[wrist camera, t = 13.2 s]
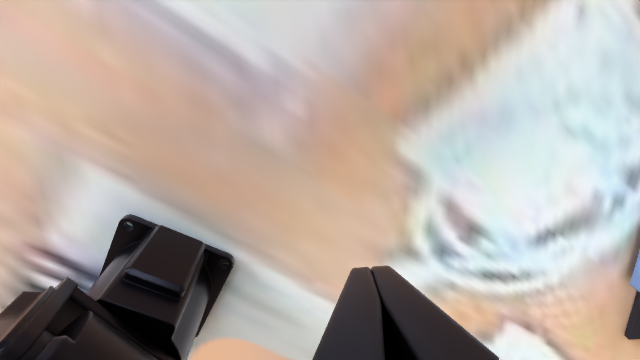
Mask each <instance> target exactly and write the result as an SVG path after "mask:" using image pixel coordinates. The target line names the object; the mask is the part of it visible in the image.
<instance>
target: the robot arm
mask: <svg viewBox="0 0 640 360" xmlns="http://www.w3.org/2000/svg"><path fill="white" fill-rule="evenodd" d="M127 222H130V223H131V224H132V225H133V227H131V226H129V225H128V224H127ZM223 260H225V261H227V262H228V264H224V263H222V261H223ZM233 264H234V258H233V256H232V255H231V254H229V253H226V252H224V251H221V250H219V249H217V248H214V247H212V246H209V245H207V244H204V243H203V242H202V241H199V240H197V239H194V238H192V237H189V236H187V235H184V234H182V233H179V232H177V231H174V230H172V229H169V228H167V227H164V226H159V225H157V224H154V223H152V222H149V221H147V220H145V219H142V218H140V217H137V216H135V215H131V214H130V215H126V216H124V217H123V218H122V219H121V220H120V222H119V224H118V227H117V229H116V232H115V235H114V238H113V240H112V243H111V246H110V249H109V251H108V254H107V257H106V260H105V262H104V265H103V268H102V271H101V273H100V276H99V278H98V279H97V281H96V282H95V283H94V284H93V286H92V287H91V288H90V289H89V290H88V292H87V293H84V292H83V291H82V290H80V289H79V288H78V287H77V286H78V284H77V283H76V282H74V281H73V280H71V279H70V278H69V277H67V278H65V279H64V280H63V281H62V282H61V283H60V284H59V285H58V286H56V287H55V288H54V287H52V286H50V287H49V288H48V289H47V290H46V291H43V292H23V293H22V294H21V295H19V296H18V297H17V298H16V299H15V300H14V301H13V302H12V303H11V304H10V305H9V306H8V307H7V308H6V309H4V310H3V311H2V312H1V313H0V360H187V358H188V355H189V352H190V350H191V347H192V344H193V341H194V338H195V337H197V336H198V334H199V332H200V330H201V328H202V326H203V324H204V322H205V320H206V318H207V317H208V315H209V313H210V311H211V309H212V307H213V305H214V303H215V301H216V299H217V297H218V295H219V293H220V291H221V289H222V287H223V285H224V283H225V281H226V279H227V277H228V275H229V273H230V271H231V269H232V267H233ZM312 360H499V358H498V356H496V355H495V354H494V353H493V352H492V351H490V350H489V349H488V348H487V347H486V346H484V345H483V344H482V343H481V342H480V341H478V340H477V339H476V338H475V337H474V336H472V335H471V334H470V333H469V332H468V331H466V330H465V329H464V328H463V327H462V326H460V325H459V324H458V323H457V322H456V321H455V320H453V319H452V318H451V317H450V316H449V315H447V314H446V313H445V312H444V311H443V310H441V309H440V308H439V307H438V306H437V305H435V304H434V303H433V302H432V301H431V300H429V299H428V298H427V297H426V296H425V295H423V294H422V293H421V292H420V291H419V290H417V289H416V288H415V287H414V286H413V285H412V284H410V283H409V282H408V281H407V280H406V279H404V278H403V277H402V276H401V275H400V274H398V273H397V272H396V271H395V270H394V269H392V268H391V267H390V266H375V267H372V268H371V269H370V268H369V267H361V268H353V269H352V270H351V272H350V274H349V276H348V279H347V281H346V283H345V285H344V288H343V290H342V292H341V295H340V297H339V299H338V302H337V304H336V306H335V309H334V311H333V313H332V316H331V318H330V320H329V322H328V325H327V327H326V329H325V332H324V334H323V336H322V339H321V341H320V343H319V346H318V348H317V350H316V353H315V355H314V357H313V359H312Z"/></svg>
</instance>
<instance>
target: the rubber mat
mask: <svg viewBox="0 0 640 360" xmlns="http://www.w3.org/2000/svg"><path fill="white" fill-rule="evenodd" d="M625 336H626V337H627V338H628V339H640V292H639V291H638V293H637V296H636V299H635V302H634V306H633V309H632V312H631V316H630V319H629V322H628V326H627V329H626V332H625Z"/></svg>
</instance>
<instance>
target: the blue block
mask: <svg viewBox="0 0 640 360" xmlns="http://www.w3.org/2000/svg"><path fill="white" fill-rule="evenodd" d="M630 285H631V286H633V287H634V288H635V289H636V290H637V291H639V292H640V251H639V254H638V258H637V261H636V264H635V268H634V271H633V275H632V278H631V282H630Z"/></svg>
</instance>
